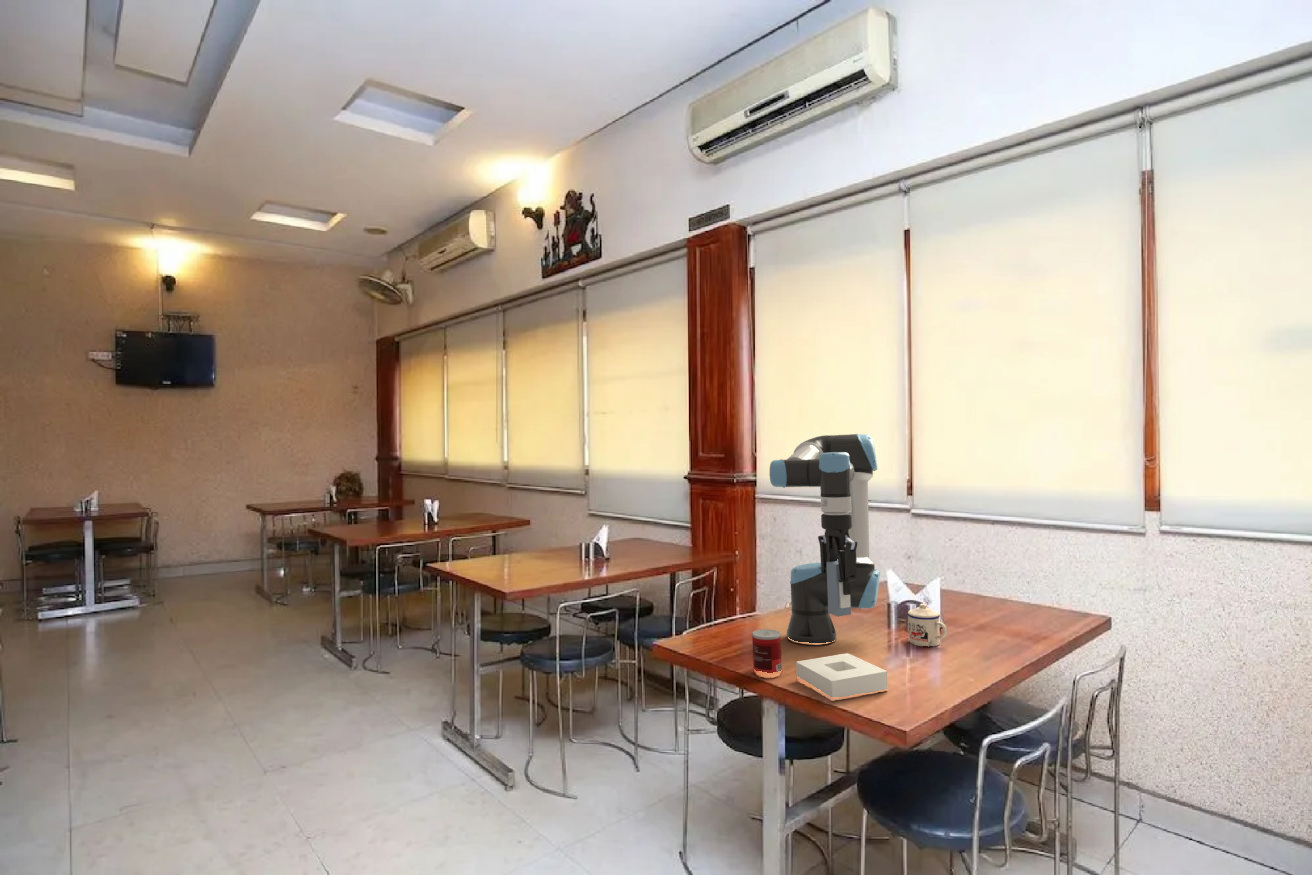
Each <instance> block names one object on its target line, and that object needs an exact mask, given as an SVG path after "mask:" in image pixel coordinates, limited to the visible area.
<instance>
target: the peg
mask: <svg viewBox="0 0 1312 875" xmlns="http://www.w3.org/2000/svg"><path fill="white" fill-rule="evenodd" d="M838 580H841V577H840V571H839V564H838V560H837V561H831V562H827V590H828V613H830V615H833V616H835V617H842V616H849V615H850V616H851V614H852V608H851V607H847V608H840V601H839V581H838ZM850 606H851V599H850Z"/></svg>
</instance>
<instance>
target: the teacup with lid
mask: <svg viewBox="0 0 1312 875" xmlns="http://www.w3.org/2000/svg"><path fill="white" fill-rule="evenodd" d="M907 616H908V618H907V619H908V640H909V642H910V644H912V645H914V646H917V647H923V646H928V647H927V648H930V647H929V646H933V647H936V646H937V647H938V646H939V645H940V644H941V640H942V639H944V638H945V637H946V636H947V633H948V629H947V625H946V624H944V623H943V622H941V621H940V617H941V616H940V613H939V612H938V611H936V610H935V609H934V610H933V609H932V608H930V607H928V606H927V604H926V603H920V604H919V606H918V607H916V608H913V609H912V608H911V609H910V610H908V612H907ZM940 627H941V628H942V634H941V635H940Z"/></svg>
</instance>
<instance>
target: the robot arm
mask: <svg viewBox="0 0 1312 875" xmlns="http://www.w3.org/2000/svg"><path fill="white" fill-rule="evenodd" d="M878 469H879V468H878V462H877V455H876V449H875V444H874V440H873V437H872V436H871V435H870V434H864V433H863V434H862V433H861V434H860V433H855V434H854V433H853V434H852V433H851V434H836V435H835V434H834V435H832V434H831V435H826V434H825V435H824V434H823V435H819V436H814V437H812V438H809V439H807V440H805V441H803V442H801V443H799V444H798V445H797V446H796V447H795V448H794V451H793V454H791V455H790V456H789V457H788V458H787V459H783V458H780V459H776V460H772V461H771V462H770V464H769V480H770V484H771V486H772V487H774V488H775V487H776V488H784V489H785V488H807V487H808V488H820V511H821V512H822V514H821V515H820V520H821V521H820V522H821V525H820V526H821V528H822V529H823V530H824V534H823V535H818V537H817V540H818V543H819V555H820V562H809V563H803V564H800V565H797V566H795V567H793V568H792V569H791V571H790V581H789V584H790V602H791V615H790V619H789V622H788V626H787V629H786V638H787V637H789V638H790V639H792V640H794V641H798V642H809V643H826V642H832V641H834V640H835V639H836V640H837V631H836V628H835V626H834V623H833V620H832V618H831V614H830V613H828V590H827V562H831V561H838V564H839V571H840V577H841V580H838V581H839V601H840V608H847V607H851V609H859V610H861V609H873V608H875V607H876V604H877V600H878V595H879V589H880V576H881V574H880V573H881V572H880V570H878V569H875V568H876V567H875V563H874V561H872V560H871V558H870V531H869V530H870V528H869V527H870V525H869V523H870V522H869V481H870V480H871V479H872V478H873V477H874V472H875V471H878ZM850 599H851V606H850Z"/></svg>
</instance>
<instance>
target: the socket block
mask: <svg viewBox="0 0 1312 875" xmlns="http://www.w3.org/2000/svg"><path fill="white" fill-rule="evenodd" d="M795 670H796V676H798V677H800V678H801V679H803V680H805V681H806V682H808V683H809V684H812V685H813V686H814V687H816V688H817V689H820V690H821V691H822V692H824V693H826V694H827V695H829V696H830V697H844V696H850V695H854V694H861V693H870V692H875V691H879V690H885V689H889V687H888V685H889V684H888V671H887V670H885V669H883V668H880V667H879V666H877V665H874V664H873V663H870V662H868V661H866V660H864V659H861V658H859V657H857V656H855V655H853V654H851V653H847V652H846V653H841V654H840V653H839V654H834V655H829V656H821V657H816V658H809V659H805V660H797V661H795ZM796 676H795V677H796Z"/></svg>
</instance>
